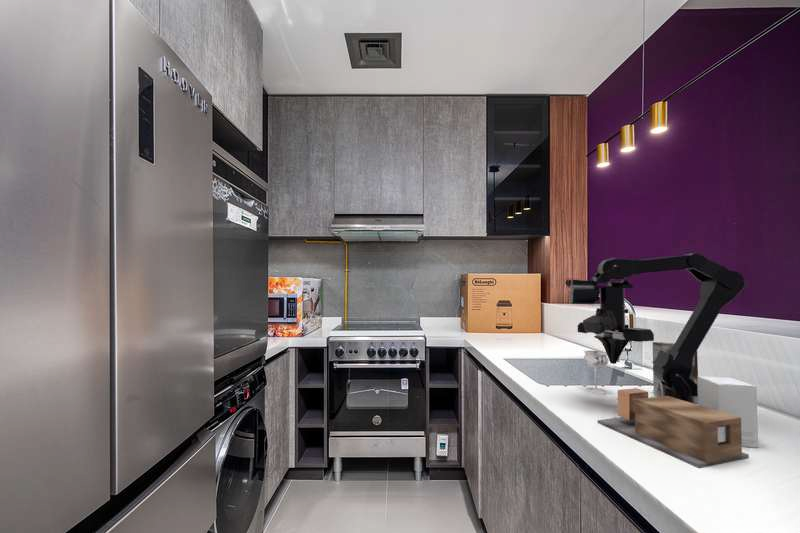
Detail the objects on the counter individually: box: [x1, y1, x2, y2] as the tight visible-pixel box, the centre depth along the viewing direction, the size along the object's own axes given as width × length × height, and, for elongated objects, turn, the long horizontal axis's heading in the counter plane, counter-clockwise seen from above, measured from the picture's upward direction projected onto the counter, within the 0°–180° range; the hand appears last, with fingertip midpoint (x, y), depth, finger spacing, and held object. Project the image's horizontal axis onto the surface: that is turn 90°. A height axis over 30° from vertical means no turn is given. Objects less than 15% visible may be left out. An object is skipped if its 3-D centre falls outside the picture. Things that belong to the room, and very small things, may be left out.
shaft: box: [617, 387, 726, 443], centre depth 78 cm, size 20×6×6 cm, turn 19°
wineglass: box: [583, 350, 610, 395], centre depth 113 cm, size 7×7×12 cm
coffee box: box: [651, 341, 699, 405], centre depth 107 cm, size 9×6×16 cm
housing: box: [597, 396, 750, 469], centre depth 79 cm, size 22×14×8 cm, turn 19°
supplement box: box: [697, 375, 759, 449], centre depth 79 cm, size 7×7×13 cm
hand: (613, 363), depth 97 cm, fingers closed
